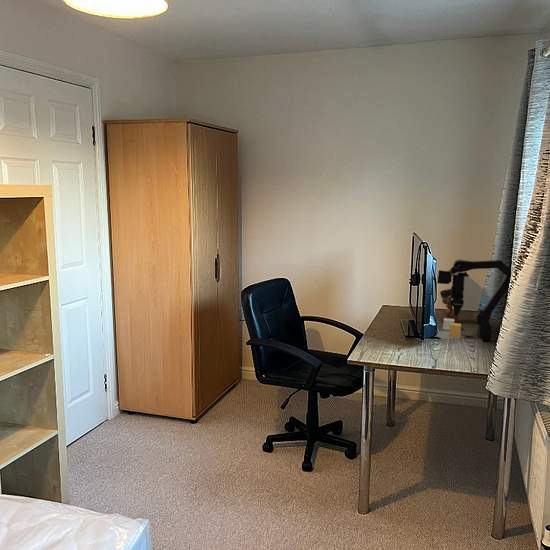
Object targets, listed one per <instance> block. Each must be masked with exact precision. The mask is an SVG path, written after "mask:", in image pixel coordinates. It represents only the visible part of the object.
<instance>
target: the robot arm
mask: <svg viewBox="0 0 550 550" xmlns="http://www.w3.org/2000/svg"><path fill="white" fill-rule="evenodd" d="M480 269H481V270H484V269H485V270H486V269H487V270H488V269H498V270H500V272H501V273H503V274H504V275H503V277H502V279H501V282H500V285H499V286H498V287H497V288H496V290H495V291H494V293H493V294H492V296H491V297H490V299H489V300H488V301H487V303H486V305H484V307H483V308H480V307H478V310H477V311H476V312H475V316H474V320H475V322H476V324H477V326H478V327H477V332H476V337H477V338H478V339H482V342H483V343H485V342H493V341H494V339H492V332H493V325H492V323H491V322H490V319H491V317H492V313H493V312H494V310H495V308H496V307H497V306H498V304H499V303H500V302H501V299H502V298H503V297H504V295H505V294H506V293H507V291H508V289H510V288H509V283H510V277H511V269H512V268H510V267H509V266H508V265H507V264H505V263H504V262H503V260H501V259H494V260H493V259H492V260H474V261H473V260H465V259H456V260H455V261H454V262H453V266H452V267H451V268H450V269H448V270H441V269H439V270H438V272H437V273H438V274H437V276H436V277H437V278H436V279H437V281H436V282H437V284H438V285H439V284H441V285H442V284H443V285H449V284H450V283H452V285H451V288H447V289H443V290H441V291H439V294H440V297H441V299H443V298H445V297H448V296H450V297H451V302H450V303H451V305H452V307H453V314H454V315H455V317H457V316H458V315H459V314H460V312H461V309H462V308H463V306H464V305H465V304H464V303H465V299H464V292H465V279H466V278H465V277H467V278H469V277H470V275H469V274H468V273H467V271H468V272H469V271H472V270H480ZM458 317H459V316H458Z"/></svg>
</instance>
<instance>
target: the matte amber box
mask: <svg viewBox="0 0 550 550" xmlns="http://www.w3.org/2000/svg"><path fill="white" fill-rule="evenodd" d="M448 331H449V337H459V338H458V339H461V338H460V335H461V332H462V324H461V323H459V322H458V323H450V330H448Z"/></svg>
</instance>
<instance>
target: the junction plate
mask: <svg viewBox="0 0 550 550" xmlns="http://www.w3.org/2000/svg"><path fill="white" fill-rule="evenodd" d="M437 332H438V334H437V336H435V337H436V338H440V339H442V340H451V339H461V338H466V336H464V335H462V334H460V338H459V337H449V330H441V331H440V330H439V331H437Z"/></svg>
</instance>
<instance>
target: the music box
mask: <svg viewBox="0 0 550 550" xmlns="http://www.w3.org/2000/svg"><path fill="white" fill-rule="evenodd" d="M441 300H442V303H443V305H445V308H446V310H445V312H444V313H441V314H440V315H439V322H440V323H442V324H443V323H444V318H447V319H454V323H458V324H459V319H460V317H459V316H457V317H455V315H454V313H452V312H454V307H453V306H452V305H451V303H450V302H451V296H448V297H445V298H441Z"/></svg>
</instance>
